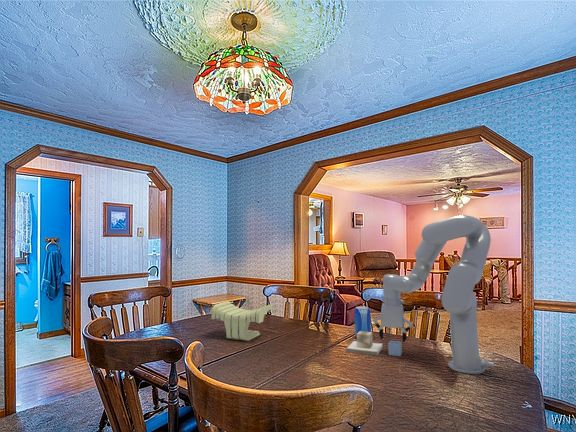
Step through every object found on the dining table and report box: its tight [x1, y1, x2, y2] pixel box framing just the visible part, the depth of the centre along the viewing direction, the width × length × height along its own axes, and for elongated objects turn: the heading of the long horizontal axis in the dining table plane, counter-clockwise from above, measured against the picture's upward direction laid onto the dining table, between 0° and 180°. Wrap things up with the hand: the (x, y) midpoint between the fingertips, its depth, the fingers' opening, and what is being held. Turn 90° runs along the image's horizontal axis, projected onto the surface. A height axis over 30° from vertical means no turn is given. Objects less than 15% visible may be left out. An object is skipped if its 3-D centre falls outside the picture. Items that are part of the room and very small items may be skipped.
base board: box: [345, 340, 384, 357], centre depth 156 cm, size 14×14×2 cm
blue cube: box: [387, 340, 403, 357], centre depth 149 cm, size 5×5×5 cm
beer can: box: [353, 305, 372, 339], centre depth 175 cm, size 8×8×16 cm
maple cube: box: [356, 331, 374, 349], centre depth 156 cm, size 6×6×6 cm
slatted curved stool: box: [211, 300, 274, 342], centre depth 183 cm, size 30×16×18 cm, turn 66°
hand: (392, 339), depth 150 cm, fingers open, 9 cm apart
